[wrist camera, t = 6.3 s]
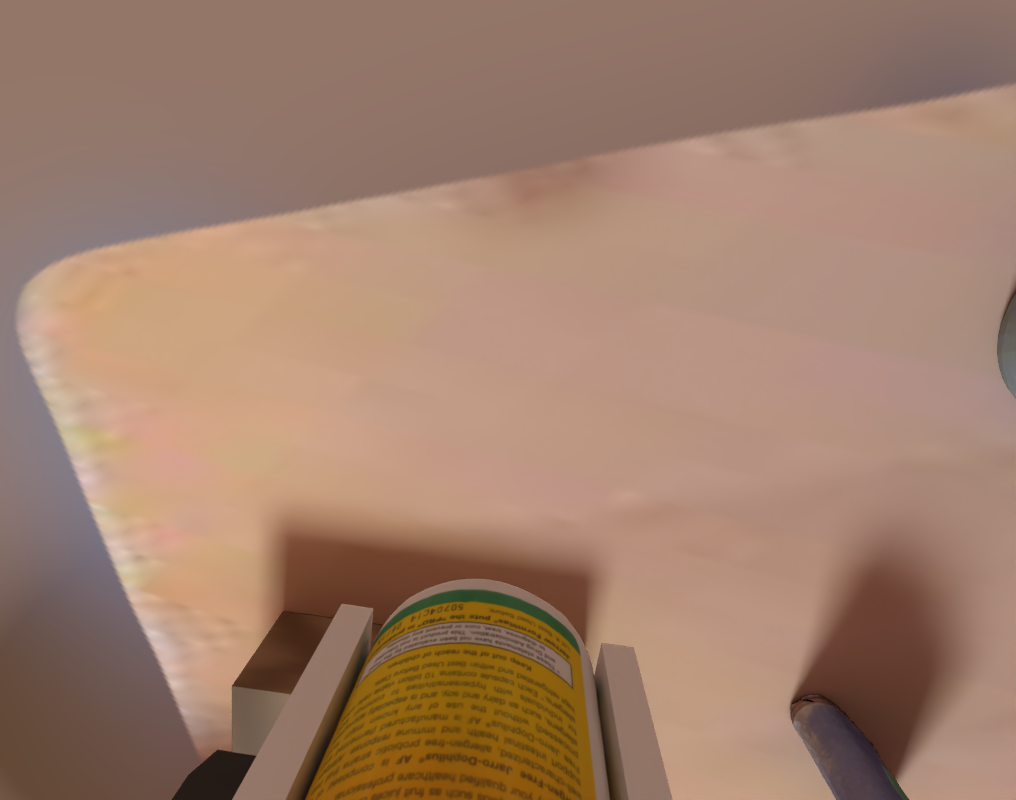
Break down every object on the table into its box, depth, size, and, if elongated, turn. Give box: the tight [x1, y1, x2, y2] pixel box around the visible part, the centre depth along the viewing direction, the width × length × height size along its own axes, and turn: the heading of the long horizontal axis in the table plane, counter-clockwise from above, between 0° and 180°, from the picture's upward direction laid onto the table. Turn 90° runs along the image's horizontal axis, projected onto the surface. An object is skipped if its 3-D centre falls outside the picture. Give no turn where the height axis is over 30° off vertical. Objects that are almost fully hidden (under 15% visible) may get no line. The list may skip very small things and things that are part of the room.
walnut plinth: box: [232, 611, 383, 756], centre depth 27 cm, size 16×16×5 cm
